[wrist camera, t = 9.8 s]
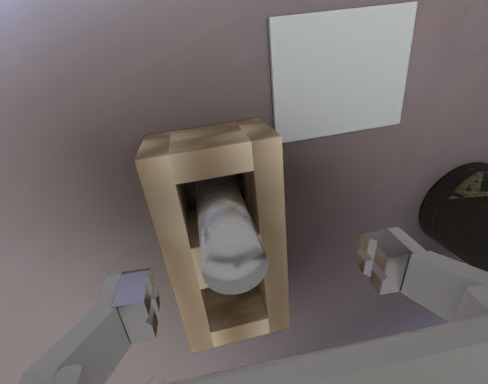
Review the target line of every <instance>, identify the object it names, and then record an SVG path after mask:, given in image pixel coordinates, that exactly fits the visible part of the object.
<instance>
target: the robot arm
mask: <svg viewBox="0 0 488 384" xmlns="http://www.w3.org/2000/svg"><path fill="white" fill-rule="evenodd" d="M358 242H359V243H360V244H361V246H360V248H359V249H358V250H357V255H356V259H357V263H358V266H359V268H360V270H361V271H362V272H363V274H365V275H367V276H369V277H370V283H371V284H372V286H373V287H374V288H375V290H376V291H377V292H378V293H379V295H382V294H388V293H394V292H400V291H401V293H402V294H404V295H405V296H407V297H409V298H410V299H412V300H413V301H415V302H417V303H418V304H420V305H422V306H423V307H425V308H426V309H428V310H430V311H431V312H433V313H434V314H436V315H438V316H439V317H441V318H443V319H444V320H446V321H447V322H449V323H445V324H440V325H436V326H431V327H426V328H422V329H417V330H412V331H408V332H403V333H398V334H394V335H389V336H384V337H380V338H375V339H370V340H366V341H361V342H356V343H352V344H347V345H342V346H338V347H333V348H328V349H324V350H319V351H314V352H310V353H305V354H300V355H296V356H291V357H286V358H282V359H277V360H272V361H268V362H263V363H258V364H254V365H249V366H244V367H240V368H235V369H230V370H226V371H221V372H216V373H211V374H207V375H202V376H197V377H193V378H188V379H183V380H179V381H174V382H169V383H165V384H488V272H486V271H484V270H481V269H478V268H476V267H473V266H470V265H468V264H465V263H462V262H459V261H457V260H454V259H451V258H449V257H446V256H443V255H441V254H438V253H435V252H433V251H426V250H425V249H424V248H423V247H422V246H420V245H419V244H418V243H417V242H416V241H415V240H413V239H412V238H411V237H410V236H409V235H408V234H407V233H405V232H404V231H403V230H402V229H401V228H398V227H393V228H388V229H384V230H378V231H372V232H366V233H361V235H360V236H359V241H358ZM159 305H160V302H159V291H158V287H157V285H156V284H155V283H154V273H153V270H152V269H151V268H148V269H141V270H134V271H127V272H122V273H114V274H108V275H107V276H106V278H105V281H104V283H103V286H102V289H101V292H100V295H99V298H98V300H97V303H96V306H95V309H94V311H92V312H89V313H88V314H87V315H85V316H84V317H83V318H82V319H81V320H80V321H79V322H78V323H77V324H76V325H75V326H74V327H73V328H71V329H70V330H69V331H68V332H67V333H66V334H65V335H64V336H63V337H62V338H61V339H60V340H59V341H58V342H56V343H55V344H54V345H53V346H52V347H51V348H50V349H49V350H48V351H47V352H46V353H45V354H44V355H42V356H41V357H40V358H39V359H38V360H37V361H36V362H35V363H34V364H33V365H32V366H31V367H30V368H29V369H27V370H26V371H25V372H24V373H23V375H22V377H21V379H20V381H19V383H18V384H105V382H106V381H107V380H108V378H109V377H110V375H111V374H112V372H113V371H114V369H115V368H116V366H117V365H118V364H119V362H120V361H121V359H122V358H123V356H124V355H125V353H126V352H127V350H128V349H129V347H130V346H131V345H130V344H133V343H138V342H142V341H147V340H151V339H155V338H156V334H157V325H158V321H157V317H156V314H157V313H158V312H159Z"/></svg>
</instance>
